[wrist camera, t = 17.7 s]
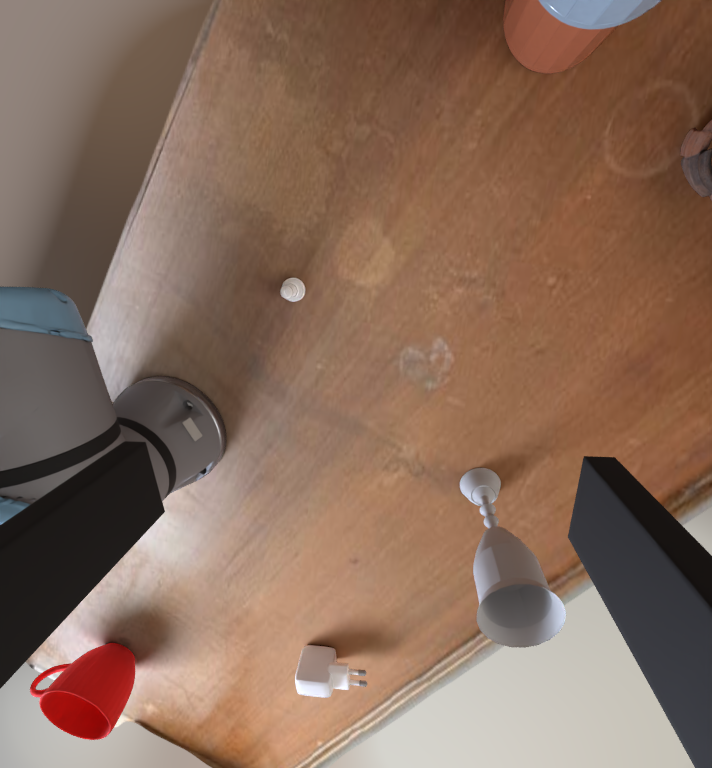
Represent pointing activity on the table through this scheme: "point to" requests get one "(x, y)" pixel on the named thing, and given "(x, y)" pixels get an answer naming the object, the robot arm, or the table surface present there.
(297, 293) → the chess pawn
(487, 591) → the chalice
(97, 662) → the ceramic cup
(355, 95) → the table surface
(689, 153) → the pottery mug
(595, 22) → the light blue round container
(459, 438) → the table surface
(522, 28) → the mug
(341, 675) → the power adapter
